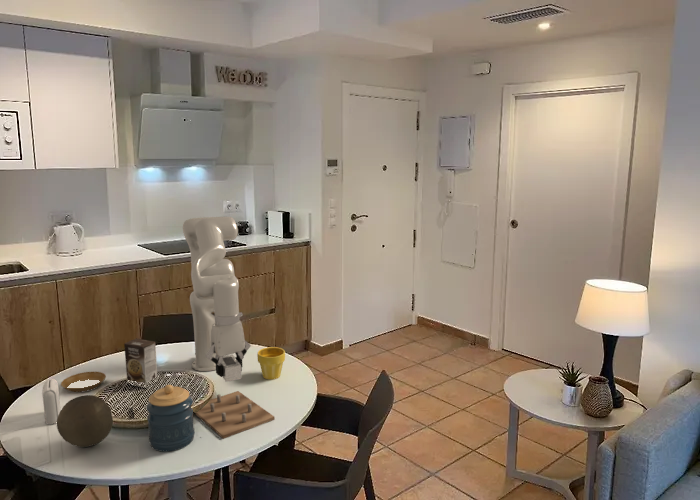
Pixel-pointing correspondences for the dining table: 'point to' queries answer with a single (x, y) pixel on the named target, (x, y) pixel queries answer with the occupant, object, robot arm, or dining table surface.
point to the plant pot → (271, 362)
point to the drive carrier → (231, 368)
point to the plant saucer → (83, 377)
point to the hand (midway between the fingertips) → (229, 372)
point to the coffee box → (140, 360)
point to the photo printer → (51, 401)
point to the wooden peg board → (233, 414)
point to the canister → (170, 419)
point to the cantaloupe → (85, 421)
